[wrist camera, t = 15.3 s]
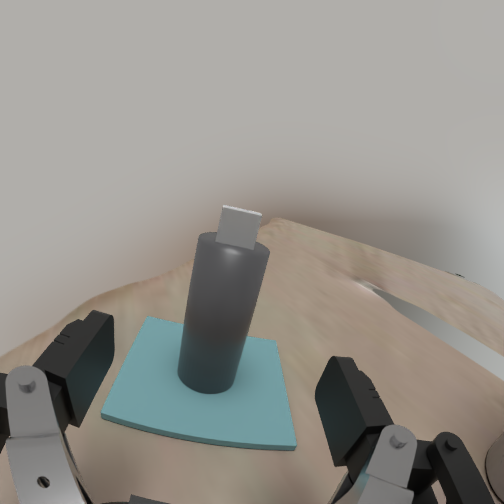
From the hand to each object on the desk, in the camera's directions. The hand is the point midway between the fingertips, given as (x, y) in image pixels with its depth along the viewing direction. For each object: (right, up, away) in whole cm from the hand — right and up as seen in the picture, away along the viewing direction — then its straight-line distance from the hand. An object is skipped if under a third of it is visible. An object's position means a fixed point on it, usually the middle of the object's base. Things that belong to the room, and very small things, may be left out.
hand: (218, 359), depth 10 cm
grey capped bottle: (-2, -5, +10) cm, 11 cm away
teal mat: (-2, -6, +10) cm, 12 cm away
